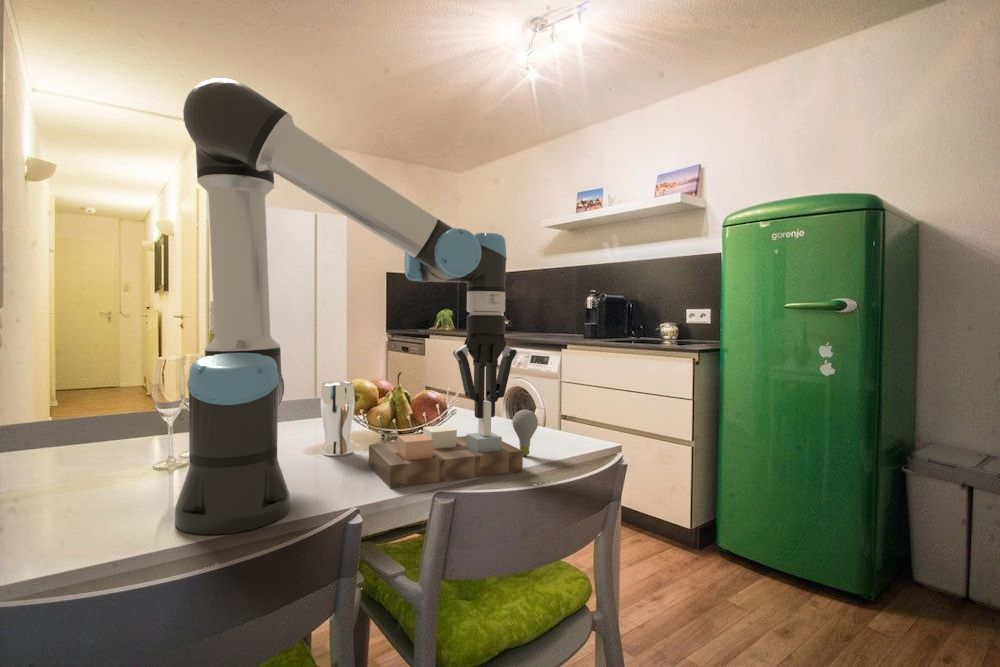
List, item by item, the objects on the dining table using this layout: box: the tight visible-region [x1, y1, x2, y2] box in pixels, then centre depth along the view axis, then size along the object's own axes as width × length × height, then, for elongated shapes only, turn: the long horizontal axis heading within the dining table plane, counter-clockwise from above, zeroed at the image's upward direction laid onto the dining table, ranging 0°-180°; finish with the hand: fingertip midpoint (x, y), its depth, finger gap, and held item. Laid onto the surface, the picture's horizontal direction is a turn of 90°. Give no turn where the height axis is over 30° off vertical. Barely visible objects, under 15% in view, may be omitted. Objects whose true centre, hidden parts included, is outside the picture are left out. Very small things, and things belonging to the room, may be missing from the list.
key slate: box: [466, 431, 503, 453], centre depth 106 cm, size 5×5×5 cm
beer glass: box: [320, 381, 356, 457], centre depth 116 cm, size 7×7×15 cm
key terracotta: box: [397, 433, 433, 461], centre depth 100 cm, size 5×5×5 cm
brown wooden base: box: [368, 435, 524, 489], centre depth 106 cm, size 26×16×4 cm, turn 116°
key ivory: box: [422, 424, 458, 449], centre depth 109 cm, size 5×5×5 cm
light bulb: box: [511, 409, 539, 457], centre depth 116 cm, size 6×5×10 cm
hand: (484, 434), depth 106 cm, fingers closed
